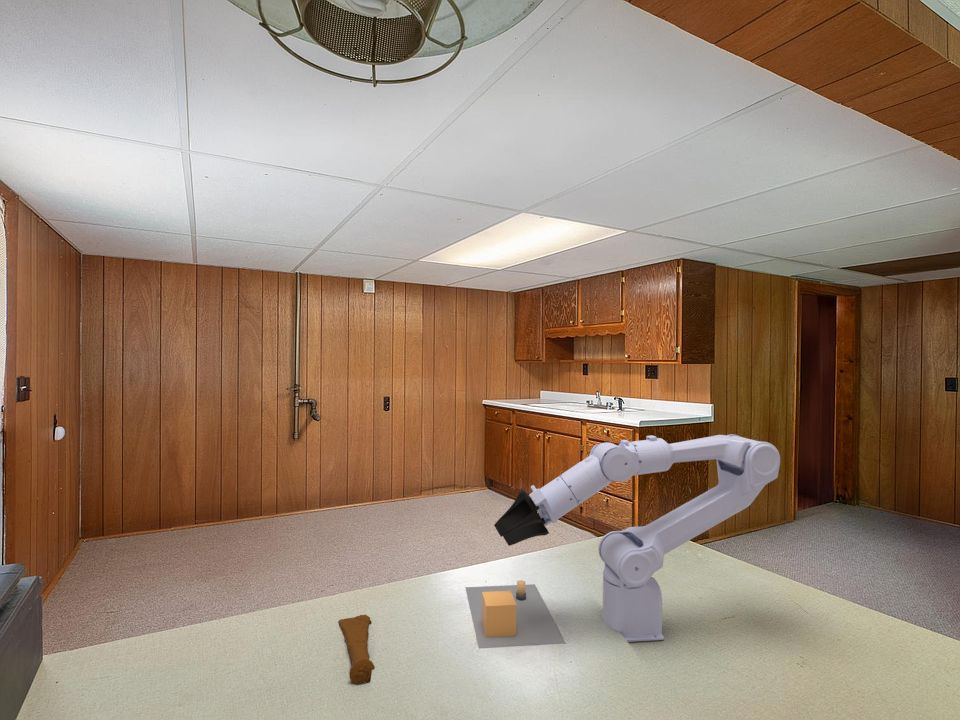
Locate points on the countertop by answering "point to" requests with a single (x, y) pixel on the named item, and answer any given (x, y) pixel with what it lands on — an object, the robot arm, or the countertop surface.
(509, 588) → the board
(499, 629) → the wooden cube
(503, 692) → the countertop surface
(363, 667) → the primitive tool
